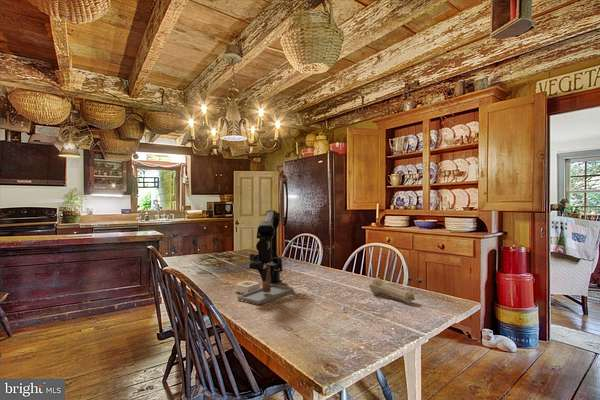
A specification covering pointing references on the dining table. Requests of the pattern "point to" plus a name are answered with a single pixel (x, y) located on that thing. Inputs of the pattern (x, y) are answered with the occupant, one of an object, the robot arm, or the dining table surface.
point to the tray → (265, 294)
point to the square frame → (247, 286)
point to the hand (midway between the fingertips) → (266, 280)
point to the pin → (267, 281)
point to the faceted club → (390, 290)
